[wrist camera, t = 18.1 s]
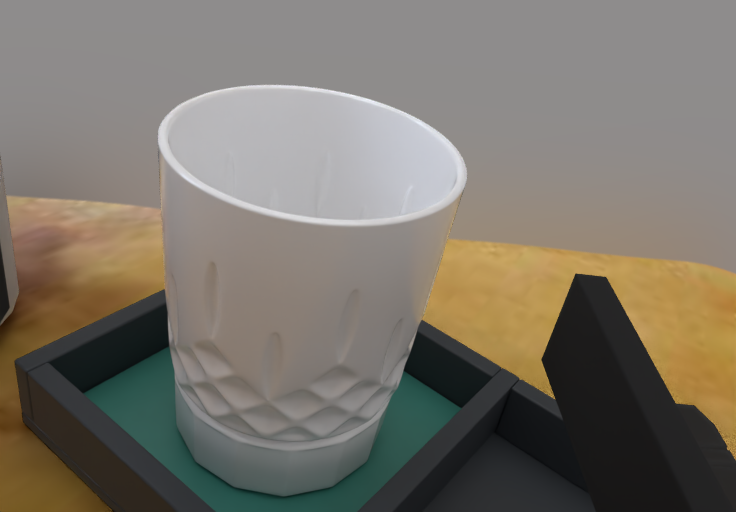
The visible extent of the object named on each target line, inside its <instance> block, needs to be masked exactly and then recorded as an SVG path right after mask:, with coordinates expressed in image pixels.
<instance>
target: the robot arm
mask: <svg viewBox="0 0 736 512" xmlns="http://www.w3.org/2000/svg"><path fill="white" fill-rule="evenodd" d="M9 308H10V304H9V298H8V291H7V284H6V277H5V271H4V264H3V257H2V250H1V244H0V323H1V321H2V320H3V318H4V316H5V315H6V313H7V312H8V310H9ZM542 363H543V365H544V368H545V371H546V374H547V377H548V379H549V382H550V385H551V388H552V391H553V393H554V396H555V399H556V402H557V405H558V407H559V410H560V413H561V416H562V418H563V421H564V424H565V427H566V430H567V432H568V435H569V438H570V441H571V444H572V446H573V449H574V452H575V455H576V457H577V460H578V463H579V466H580V469H581V471H582V474H583V477H584V480H585V483H586V485H587V488H588V491H589V494H590V497H591V499H592V502H593V505H594V508H595V510H596V512H736V460H735V459H734V457H733V455H732V454H731V452H730V451H729V450H727V445H726V444H725V442H724V440H723V439H722V437H721V435H720V433H719V432H718V430H717V428H716V427H715V425H714V424H713V423H712V422H711V421H710V420H709V419H708V418H707V417H706V416H705V415H704V414H703V413H702V412H700V411H699V410H698V409H697V408H696V407H695V406H694V405H685V404H676V403H675V401H674V400H673V398H672V396H671V394H670V392H669V391H668V389H667V387H666V385H665V383H664V381H663V380H662V378H661V376H660V374H659V372H658V370H657V369H656V367H655V365H654V363H653V361H652V360H651V358H650V356H649V354H648V352H647V350H646V349H645V347H644V345H643V343H642V341H641V340H640V338H639V336H638V334H637V332H636V330H635V329H634V327H633V325H632V323H631V321H630V320H629V318H628V316H627V314H626V312H625V310H624V309H623V307H622V305H621V303H620V301H619V300H618V298H617V296H616V294H615V292H614V290H613V289H612V287H611V285H610V283H609V281H608V279H607V278H606V277H601V276H592V275H584V274H575V277H574V279H573V282H572V284H571V287H570V289H569V292H568V294H567V297H566V299H565V302H564V304H563V307H562V309H561V312H560V314H559V317H558V319H557V322H556V324H555V327H554V330H553V332H552V335H551V337H550V340H549V342H548V345H547V347H546V350H545V352H544V355H543V357H542Z"/></svg>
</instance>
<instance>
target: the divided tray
mask: <svg viewBox="0 0 736 512" xmlns="http://www.w3.org/2000/svg"><path fill="white" fill-rule="evenodd" d="M15 368H16V375H17V382H18V388H19V395H20V401H21V408H22V411H23V412H22V417H23V422H24V423H25V424H26V425H27V426H28V427H29V428H30V429H31V430H32V431H33V432H34V433H35V434H36V435H37V436H38V437H39V438H40V439H41V440H42V441H43V442H44V443H45V444H46V445H47V446H48V447H49V448H50V449H51V450H52V451H53V452H54V453H55V454H56V455H57V456H58V457H59V458H60V459H61V460H62V461H63V462H64V463H65V464H66V465H67V466H68V467H70V468H71V469H72V470H73V471H74V472H75V473H76V474H77V475H78V476H79V477H80V478H81V479H82V480H83V481H84V482H85V483H86V484H87V485H88V486H89V487H90V488H91V489H92V490H93V491H94V492H95V493H96V494H97V495H98V496H99V497H100V498H101V499H102V500H103V501H104V502H105V503H106V504H107V505H108V506H109V507H110V508H111V509H112V510H113V511H114V512H596V510H595V508H594V505H593V502H592V499H591V497H590V494H589V491H588V488H587V485H586V483H585V480H584V477H583V474H582V471H581V469H580V466H579V463H578V460H577V457H576V455H575V452H574V449H573V446H572V444H571V441H570V438H569V435H568V432H567V430H566V427H565V424H564V421H563V418H562V416H561V413H560V410H559V407H558V405H557V402H556V400H555V399H553V398H552V397H550V396H548V395H547V394H545V393H543V392H542V391H540V390H538V389H537V388H535V387H533V386H532V385H530V384H528V383H527V382H525V381H523V380H519V377H517V376H515V375H514V374H512V373H510V372H509V371H507V370H505V369H503V368H502V369H501V367H500V366H498V365H497V364H495V363H493V362H492V361H490V360H488V359H487V358H485V357H483V356H482V355H480V354H478V353H477V352H475V351H473V350H472V349H470V348H468V347H467V346H465V345H463V344H462V343H460V342H458V341H457V340H455V339H453V338H452V337H450V336H448V335H447V334H445V333H443V332H441V331H440V330H438V329H436V328H435V327H433V326H431V325H430V324H428V323H426V322H425V321H423V320H421V322H420V324H419V327H418V329H417V333H416V336H415V339H414V343H413V346H412V349H411V352H410V355H409V357H408V359H407V361H406V364H405V367H404V371H403V374H402V377H401V380H400V383H399V386H398V388H397V390H396V391H395V392H394V394H393V395H392V396H391V399H390V402H389V405H388V408H387V412H386V415H385V418H384V421H383V424H382V427H381V430H380V432H379V435H378V437H377V439H376V442H375V444H374V446H373V449H372V451H371V453H370V456H369V458H368V460H367V462H366V463H364V464H363V465H362V466H360V467H359V468H358V469H356V470H355V471H353V472H352V473H351V474H349V475H348V476H347V477H345V478H344V479H342V480H341V481H340V482H338V483H337V484H336V485H334V486H333V487H330V488H325V489H320V490H315V491H310V492H305V493H300V494H295V495H290V496H277V495H272V494H266V493H261V492H256V491H250V490H245V489H240V488H235V487H233V486H231V485H230V484H228V483H227V482H225V481H224V480H222V479H221V478H219V477H218V476H216V475H215V474H213V473H212V472H210V471H209V470H207V469H206V468H204V467H203V466H201V465H200V464H198V463H197V462H195V460H194V458H193V456H192V455H191V453H190V451H189V449H188V447H187V445H186V443H185V441H184V439H183V437H182V436H181V434H180V432H179V430H178V428H177V425H176V403H175V373H174V367H173V362H172V357H171V352H170V347H169V335H168V312H167V306H166V296H165V289H164V290H161V291H159V292H157V293H155V294H153V295H151V296H149V297H147V298H145V299H143V300H140V301H138V302H136V303H134V304H132V305H130V306H128V307H126V308H124V309H121V310H119V311H117V312H115V313H113V314H111V315H109V316H107V317H105V318H102V319H100V320H98V321H96V322H94V323H92V324H90V325H88V326H86V327H84V328H81V329H79V330H77V331H75V332H73V333H71V334H69V335H67V336H65V337H62V338H60V339H58V340H56V341H54V342H52V343H50V344H48V345H46V346H43V347H41V348H39V349H37V350H35V351H33V352H31V353H29V354H27V355H24V356H22V357H20V358H18V359H16V360H15Z"/></svg>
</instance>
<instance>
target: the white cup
mask: <svg viewBox="0 0 736 512" xmlns="http://www.w3.org/2000/svg"><path fill="white" fill-rule="evenodd" d="M158 157H159V175H160V194H161V218H162V241H163V264H164V283H165V296H166V306H167V312H168V335H169V347H170V352H171V357H172V362H173V367H174V373H175V403H176V425H177V428H178V430H179V432H180V434H181V436H182V437H183V439H184V441H185V443H186V445H187V447H188V449H189V451H190V453H191V455H192V456H193V458H194V460H195V462H197V463H198V464H200V465H201V466H203V467H204V468H206V469H207V470H209V471H210V472H212V473H213V474H215V475H216V476H218V477H219V478H221V479H222V480H224V481H225V482H227V483H228V484H230V485H231V486H233V487H235V488H240V489H245V490H250V491H256V492H261V493H266V494H272V495H277V496H290V495H295V494H300V493H305V492H310V491H315V490H320V489H325V488H330V487H333V486H334V485H336V484H337V483H338V482H340V481H341V480H342V479H344V478H345V477H347V476H348V475H349V474H351V473H352V472H353V471H355V470H356V469H358V468H359V467H360V466H362V465H363V464H364V463H366V462H367V460H368V458H369V456H370V453H371V451H372V449H373V446H374V444H375V442H376V439H377V437H378V435H379V432H380V430H381V427H382V424H383V421H384V418H385V415H386V412H387V408H388V405H389V402H390V399H391V396H392V395H393V394H394V392H395V391H396V390H397V388H398V386H399V383H400V380H401V377H402V374H403V371H404V367H405V364H406V361H407V359H408V357H409V355H410V352H411V349H412V346H413V343H414V339H415V336H416V333H417V329H418V327H419V324H420V322H421V320H422V318H423V316H424V313H425V310H426V306H427V303H428V300H429V297H430V294H431V290H432V287H433V284H434V281H435V278H436V275H437V272H438V268H439V265H440V262H441V259H442V256H443V253H444V249H445V246H446V243H447V240H448V237H449V234H450V230H451V227H452V225H453V221H454V218H455V215H456V212H457V209H458V206H459V203H460V200H461V197H462V194H463V191H464V188H465V185H466V180H467V169H466V165H465V162H464V160H463V158H462V156H461V154H460V153H459V151H458V150H457V149H456V148H455V146H454V145H453V144H452V143H451V142H450V141H449V140H448V139H447V138H446V137H445V136H443V135H442V134H441V133H440V132H438V131H437V130H435V129H434V128H433V127H431V126H430V125H428V124H426V123H425V122H423V121H421V120H419V119H418V118H416V117H413V116H412V115H410V114H408V113H405V112H403V111H401V110H398V109H396V108H393V107H391V106H388V105H385V104H383V103H380V102H376V101H374V100H370V99H367V98H364V97H359V96H356V95H351V94H347V93H343V92H338V91H333V90H327V89H320V88H313V87H303V86H291V85H254V86H253V85H252V86H241V87H233V88H227V89H221V90H217V91H213V92H209V93H205V94H202V95H199V96H196V97H194V98H191V99H190V100H187V101H185V102H183V103H182V104H180V105H178V106H177V107H175V108H174V109H173V110H172V111H171V112H170V113H168V115H167V116H166V117H165V118H164V119H163V121H162V123H161V125H160V127H159V131H158Z"/></svg>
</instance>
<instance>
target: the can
mask: <svg viewBox="0 0 736 512" xmlns="http://www.w3.org/2000/svg"><path fill="white" fill-rule="evenodd" d="M0 244H1V250H2V257H3V264H4V271H5V277H6V284H7V291H8V298H9V304H10V308H9V310H8V312H7V313H6V315H5V316H4V318H3V320H2V321H1V323H0V325H1V324H2V323H3V322H4V321H5V319H6V318H7V317H8V316H9V315H10V314H11V313H12V312H13V309H14V306H15V303H16V300H17V297H18V294H19V287H18V279H17V272H16V265H15V258H14V251H13V243H12V236H11V229H10V222H9V214H8V207H7V200H6V193H5V185H4V178H3V171H2V165H1V157H0Z"/></svg>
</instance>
